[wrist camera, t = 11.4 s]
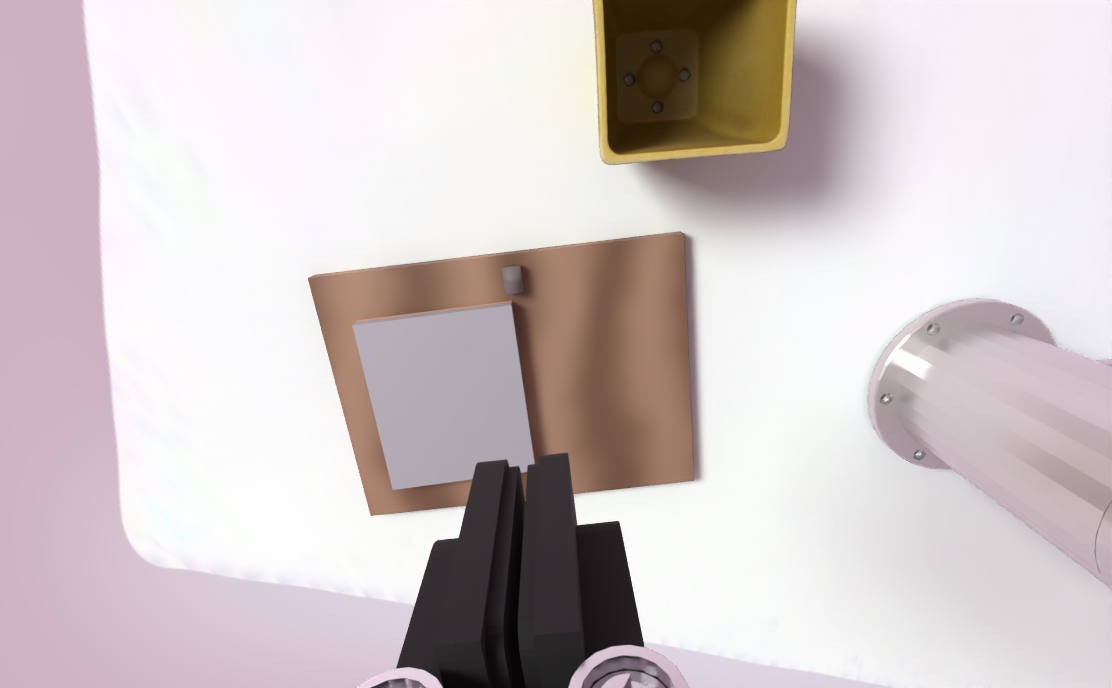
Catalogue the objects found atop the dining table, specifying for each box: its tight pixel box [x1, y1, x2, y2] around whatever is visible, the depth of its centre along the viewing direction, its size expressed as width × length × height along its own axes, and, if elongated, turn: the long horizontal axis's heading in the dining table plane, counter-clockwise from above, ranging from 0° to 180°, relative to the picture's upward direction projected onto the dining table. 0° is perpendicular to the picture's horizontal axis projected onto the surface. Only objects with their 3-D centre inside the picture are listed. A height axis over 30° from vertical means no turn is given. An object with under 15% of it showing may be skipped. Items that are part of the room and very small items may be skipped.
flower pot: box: [593, 0, 797, 165], centre depth 28 cm, size 9×9×9 cm
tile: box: [352, 301, 535, 490], centre depth 37 cm, size 10×12×1 cm
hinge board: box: [308, 232, 694, 516], centre depth 37 cm, size 24×18×2 cm
